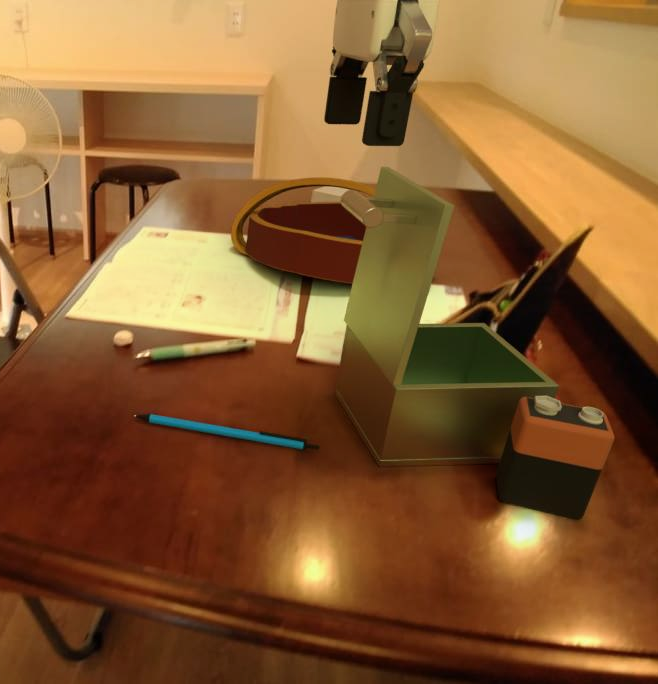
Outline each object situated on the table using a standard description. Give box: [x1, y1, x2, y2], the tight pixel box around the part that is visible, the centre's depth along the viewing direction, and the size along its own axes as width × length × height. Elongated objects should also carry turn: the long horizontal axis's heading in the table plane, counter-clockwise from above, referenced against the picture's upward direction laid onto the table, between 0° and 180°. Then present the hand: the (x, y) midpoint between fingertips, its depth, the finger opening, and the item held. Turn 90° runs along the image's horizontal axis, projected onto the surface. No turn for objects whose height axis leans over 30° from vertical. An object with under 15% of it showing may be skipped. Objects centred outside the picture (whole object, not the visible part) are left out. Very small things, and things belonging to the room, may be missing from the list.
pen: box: [133, 413, 320, 451], centre depth 70 cm, size 1×19×1 cm, turn 74°
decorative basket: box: [230, 176, 376, 284], centre depth 112 cm, size 34×29×15 cm
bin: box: [334, 322, 560, 468], centre depth 71 cm, size 16×14×9 cm
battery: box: [495, 396, 615, 520], centre depth 60 cm, size 4×7×10 cm, turn 69°
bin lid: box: [341, 166, 455, 385], centre depth 64 cm, size 17×14×6 cm
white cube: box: [310, 186, 349, 202], centre depth 138 cm, size 6×6×6 cm
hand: (360, 133), depth 58 cm, fingers open, 9 cm apart
